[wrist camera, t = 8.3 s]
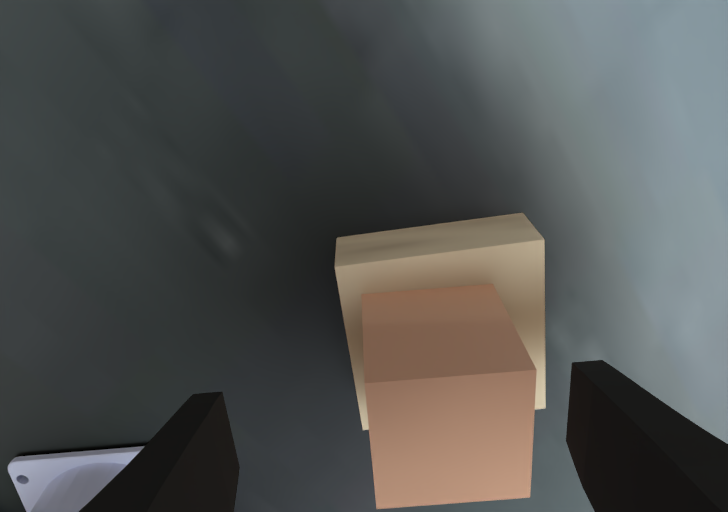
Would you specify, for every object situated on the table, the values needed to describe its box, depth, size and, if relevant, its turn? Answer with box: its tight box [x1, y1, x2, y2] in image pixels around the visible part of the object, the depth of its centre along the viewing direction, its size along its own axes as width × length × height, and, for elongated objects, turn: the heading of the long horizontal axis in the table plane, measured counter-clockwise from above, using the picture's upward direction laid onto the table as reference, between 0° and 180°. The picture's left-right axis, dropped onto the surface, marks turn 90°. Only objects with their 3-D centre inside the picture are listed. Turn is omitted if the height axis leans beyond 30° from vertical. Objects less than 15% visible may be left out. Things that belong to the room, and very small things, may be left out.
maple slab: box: [335, 213, 546, 430], centre depth 22 cm, size 7×7×3 cm
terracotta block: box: [361, 284, 537, 509], centre depth 18 cm, size 4×4×5 cm
